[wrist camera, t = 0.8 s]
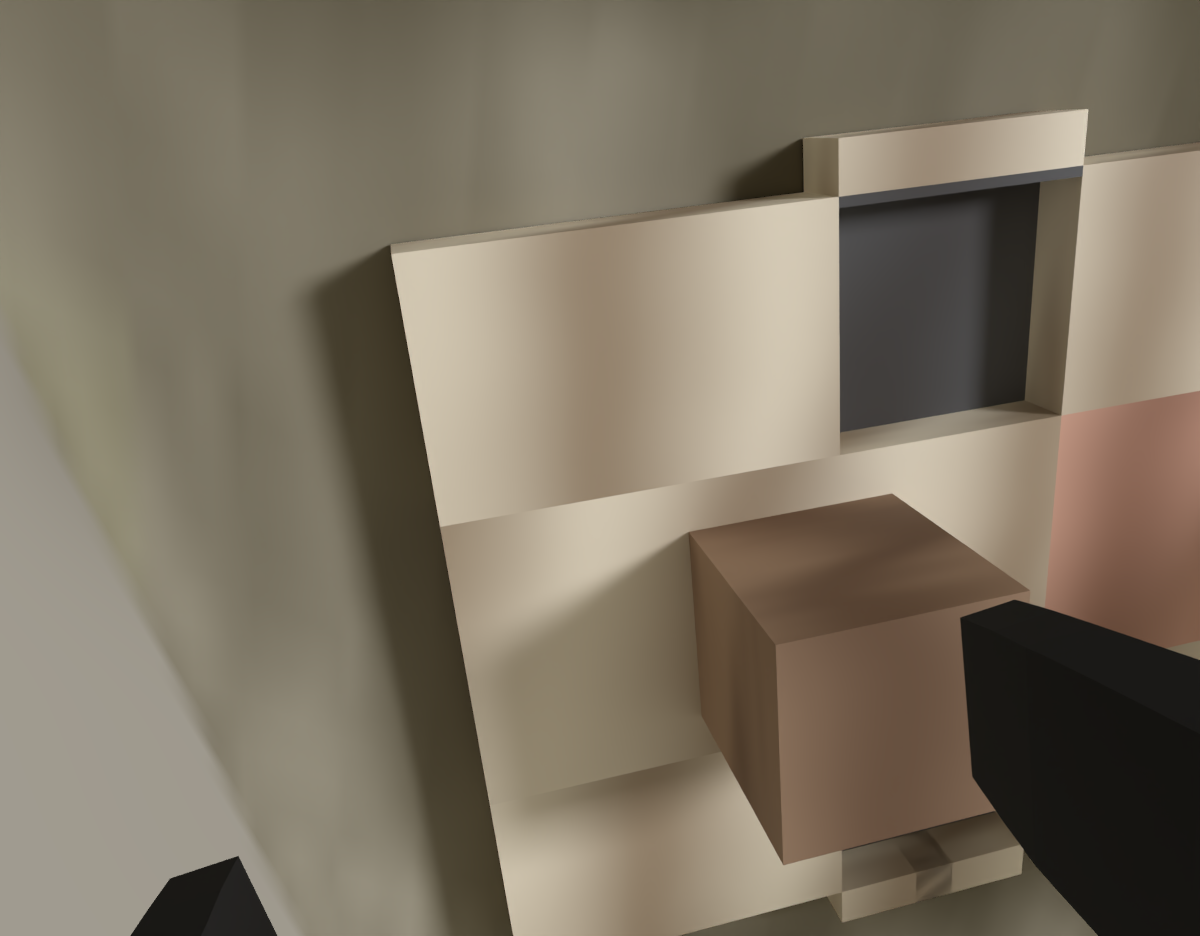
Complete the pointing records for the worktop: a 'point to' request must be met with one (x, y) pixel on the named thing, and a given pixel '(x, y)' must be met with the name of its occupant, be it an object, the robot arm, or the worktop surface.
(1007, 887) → the worktop surface
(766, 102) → the worktop surface
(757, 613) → the walnut block
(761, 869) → the trap board
